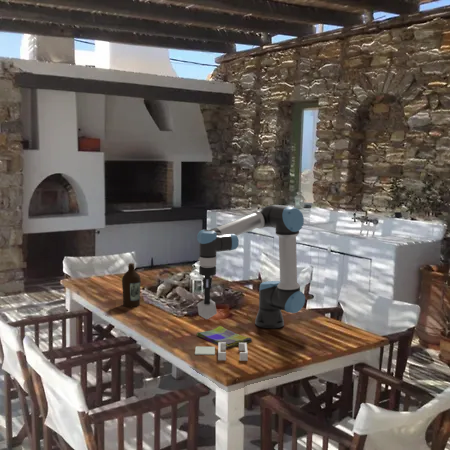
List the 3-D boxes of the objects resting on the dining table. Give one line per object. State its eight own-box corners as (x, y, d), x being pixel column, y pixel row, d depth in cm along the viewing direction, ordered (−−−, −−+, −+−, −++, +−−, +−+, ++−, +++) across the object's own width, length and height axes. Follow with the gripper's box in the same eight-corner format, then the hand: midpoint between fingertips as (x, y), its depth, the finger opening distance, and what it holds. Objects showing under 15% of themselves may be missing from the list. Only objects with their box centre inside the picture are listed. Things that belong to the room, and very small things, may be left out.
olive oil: (118, 305, 329) (118, 263, 326) (133, 302, 337) (133, 261, 333) (129, 309, 322) (128, 266, 318) (144, 306, 329) (144, 264, 326)
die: (218, 317, 258) (219, 296, 256) (213, 323, 249) (213, 301, 248) (200, 315, 260) (201, 294, 259) (194, 321, 251) (195, 299, 250)
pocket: (246, 350, 262) (246, 342, 261) (247, 360, 249) (247, 353, 249) (218, 349, 262) (218, 342, 261) (218, 360, 249) (218, 352, 248)
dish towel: (221, 329, 292) (222, 324, 292) (254, 342, 274) (254, 337, 273) (194, 336, 281) (194, 331, 280) (226, 350, 262) (226, 344, 262)
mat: (215, 348, 264) (215, 346, 264) (214, 355, 255) (214, 353, 255) (195, 347, 264) (195, 346, 264) (194, 354, 255) (194, 353, 255)
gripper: (199, 261, 262) (199, 310, 265) (198, 270, 245) (197, 322, 248) (216, 262, 262) (215, 310, 265) (216, 270, 245) (215, 322, 248)
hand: (206, 316), depth 257 cm, fingers closed on die, 4 cm apart
